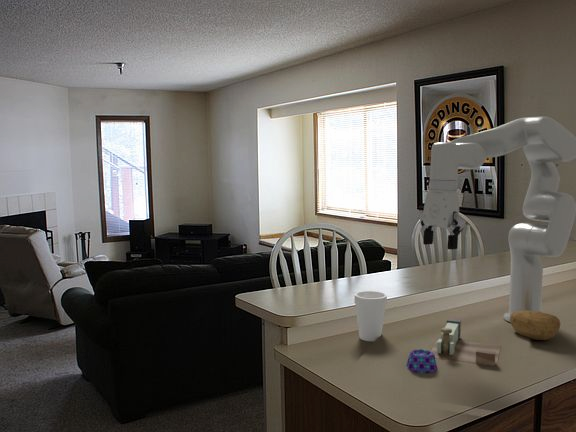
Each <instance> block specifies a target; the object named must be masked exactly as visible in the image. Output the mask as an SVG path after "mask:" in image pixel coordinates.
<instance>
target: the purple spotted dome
mask: <svg viewBox="0 0 576 432" xmlns="http://www.w3.org/2000/svg"><path fill="white" fill-rule="evenodd" d="M406 367H407V370H409V371H413V372H415V373H418V374H419V373H423V374H430V373H434V372H435V373H436V371H437V369H438V365H437V361H436V358H435V356H434V354H433V353H432V352H431V350H427V349H421V348H420V349H413V350H412V351H410V352H409V355H408V358H407V360H406Z"/></svg>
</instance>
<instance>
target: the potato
mask: <svg viewBox="0 0 576 432" xmlns="http://www.w3.org/2000/svg"><path fill="white" fill-rule="evenodd" d="M509 323H510V325H511V326H512V328H513V330H514V331H515V333H517V334H519V335H521V336H523V337H527V338H529V339H531V340H536V341H546V340H547V341H548V340H551V339H552V338H553V337H555V336H556V335H557V333H559V331H560V328H561V320H560V318H559V317H557V316H555V315H553V314H550V313H546V312H542V311H541V312H539V311H526V310H520V311H516V312H514V313H513V314H511V316H510V322H509Z"/></svg>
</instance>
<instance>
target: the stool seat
mask: <svg viewBox="0 0 576 432" xmlns="http://www.w3.org/2000/svg"><path fill="white" fill-rule="evenodd" d="M440 333H443V350H442V352H441V353H437V342H438V340H439V339H441V337H437V339H436V341H435V343H434V345H433V347H432V349H431V350H430V352H432V353H433V354H434V356H435V359H442V360H451V361H455V362H456V361H457V362H463V363H464V362H465V363H470V364H478V365H485V366H491V367H492V366H493V367H497V365H498V361H499V356H500V354H501V353H500V352H501V347H502V346H501V345H497V344H488V343H481V342H475V341H474V342H473V341H466V340H459V339H458V340H457V343H456V345H455V352H454V354H453V355H450V351H449V333H452V329H450V328H445V327H442V328H440Z"/></svg>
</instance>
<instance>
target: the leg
mask: <svg viewBox="0 0 576 432" xmlns="http://www.w3.org/2000/svg"><path fill="white" fill-rule="evenodd" d="M461 322H462V319H456V318H447V319H446V325H445V326H444V328H450V329H452V333H449V351H450V355H453V354H454V352H455V345H456V343H457V340H458V341H459V340H460V338H461V329H462V326H461V325H462V323H461ZM440 333H441V335H440V338H441V339H439V340H438V342H437V353H441V352H442V350H443V333H442V332H440Z"/></svg>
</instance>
